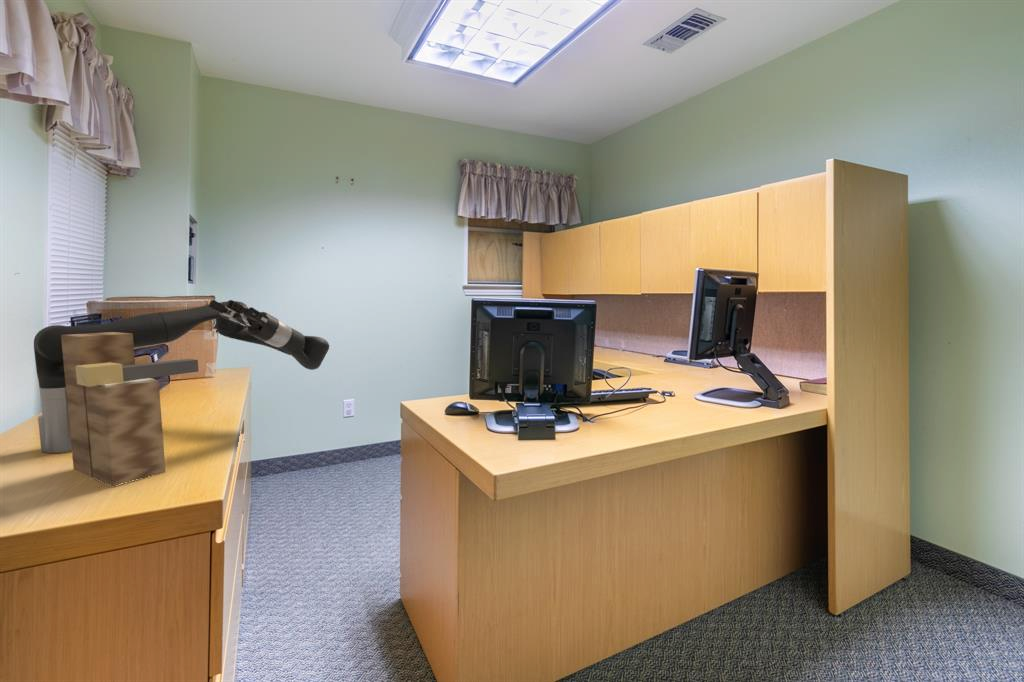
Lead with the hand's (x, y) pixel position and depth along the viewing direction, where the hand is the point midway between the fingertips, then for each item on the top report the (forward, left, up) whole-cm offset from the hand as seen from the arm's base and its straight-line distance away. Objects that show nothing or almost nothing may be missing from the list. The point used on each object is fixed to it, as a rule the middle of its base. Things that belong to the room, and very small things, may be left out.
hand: (219, 303), depth 126 cm
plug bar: (-11, -16, -17) cm, 25 cm away
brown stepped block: (-18, -15, -39) cm, 45 cm away
